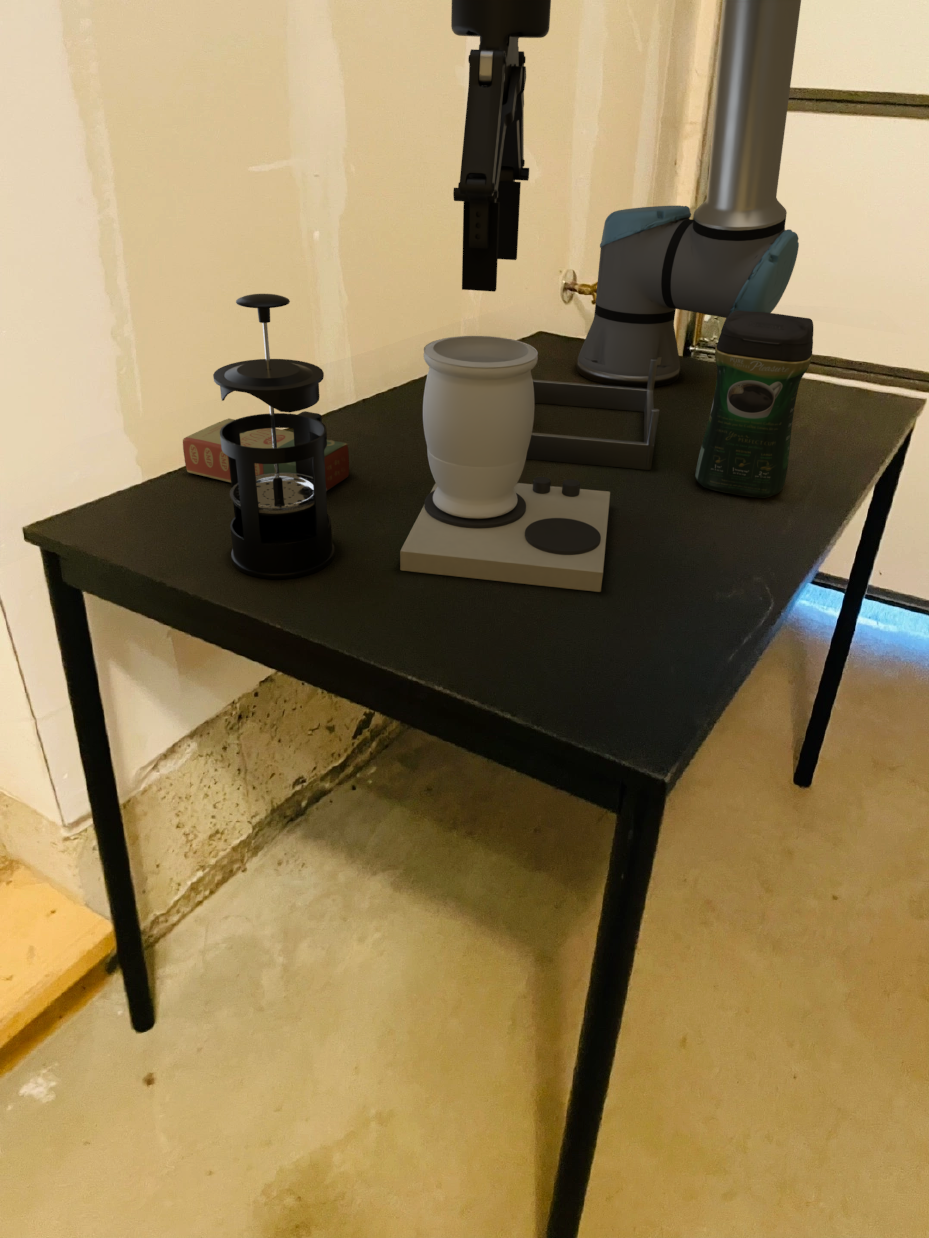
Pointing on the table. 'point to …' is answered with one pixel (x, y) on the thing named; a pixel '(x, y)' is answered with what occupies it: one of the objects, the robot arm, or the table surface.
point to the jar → (478, 421)
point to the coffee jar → (754, 402)
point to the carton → (213, 463)
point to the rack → (597, 448)
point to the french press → (277, 496)
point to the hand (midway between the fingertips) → (491, 273)
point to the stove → (518, 539)
